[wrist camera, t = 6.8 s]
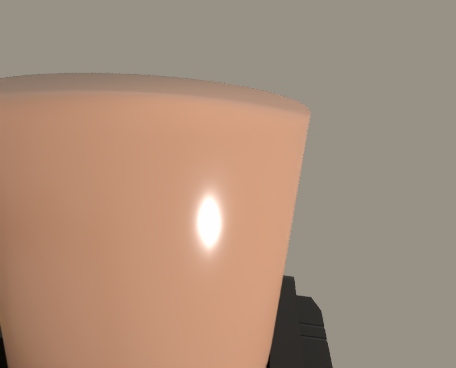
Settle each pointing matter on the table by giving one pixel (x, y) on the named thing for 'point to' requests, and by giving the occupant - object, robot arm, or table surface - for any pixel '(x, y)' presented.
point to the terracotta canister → (143, 219)
